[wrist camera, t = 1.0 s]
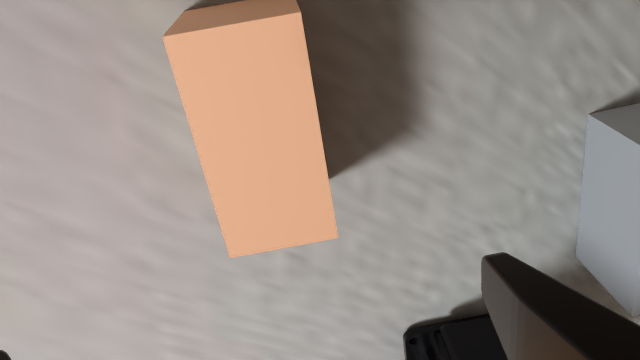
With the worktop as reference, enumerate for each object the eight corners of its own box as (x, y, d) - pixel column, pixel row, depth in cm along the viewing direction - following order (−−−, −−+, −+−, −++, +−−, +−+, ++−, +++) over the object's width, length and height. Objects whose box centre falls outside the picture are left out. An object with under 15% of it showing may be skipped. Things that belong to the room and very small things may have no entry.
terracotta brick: (324, 179, 22) (338, 238, 18) (236, 195, 22) (230, 258, 18) (292, -9, 18) (300, 11, 14) (184, 10, 18) (162, 36, 14)
